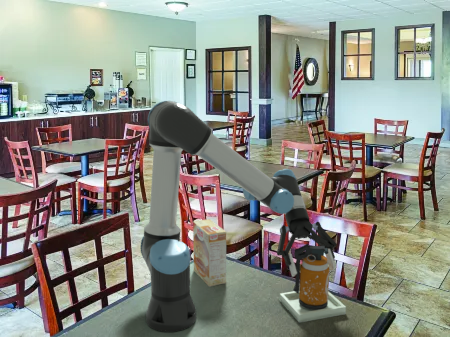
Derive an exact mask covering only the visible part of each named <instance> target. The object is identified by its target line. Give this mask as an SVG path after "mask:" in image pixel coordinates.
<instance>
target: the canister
mask: <svg viewBox="0 0 450 337" xmlns="http://www.w3.org/2000/svg"><path fill="white" fill-rule="evenodd" d="M293 253H294V256H295V267H296V271H297V274H296V275H295V284H294V286H293V289H292V292H293V291H295V292H296V293H298V294H299V303H300V305H301V306H303V307H304V308H307V309H311V310H320V309H324V308H326V307H327V305H328V291H329V288H330V287H329V286H330V285H329V284H330V271H331V270H330V267H329V264H328V260H327V258H326V255H325V254H328V249H327V248H325V246H320V245H310V244H308V243H306V244H304V245H302V246H300V247H298V248H296V249H294V252H293ZM301 260H302V262H301ZM301 263H302V264H301Z"/></svg>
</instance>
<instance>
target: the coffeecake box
mask: <svg viewBox="0 0 450 337" xmlns="http://www.w3.org/2000/svg"><path fill="white" fill-rule="evenodd" d="M192 234H193V235H192V238H193V239H192V240H193V271H194V272H195V273H196V275H198V277H199V278H201V279H202V281H203V282H204V283H205V284H206V285H207V287H214V286H218V285H223V284H227V231H226V230H224V228H222V227H221V226H219V225H218V224H217V223H215V222H214V221H213V220H211V219H209V218H207V219H202V220H194V221H192Z"/></svg>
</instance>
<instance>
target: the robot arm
mask: <svg viewBox="0 0 450 337" xmlns="http://www.w3.org/2000/svg"><path fill="white" fill-rule="evenodd" d="M147 125H148V128H149V136H148V137H149V141H148V142H149V143H148V144H149V146H150V147H151V148H152V149H153V155H152V156H153V157H152V174H151V191H150V205H149V206H150V207H149V222H148V223H147V224H146V225H145V226H144V228H143V235H142V238H141V240H140V253H141V256H142V257H141V258H143V260H144V261H145V263H146V267H147V269H148V271H149V274H150V291H151V292H150V294H151V296H150V299H149V303H148V306H147V309H146V312H145V318H146V320H145V322H146V324H147V326H148V327H150V328H151V329H153V330H155V331H157V332H164V333H174V332H179V331H184V330H185V329H189V327H191V326H192V325H194V323H195V322H196V320H197V309H196V306H195V303H194V301H193V297H192V295H191V269H190V268H191V254H190V249H189V247H188V246H187V244H186V243H184V242H183V241H181V228H180V226H178V225H177V219H178V218H177V216H178V204H179V203H178V202H179V190H180V188H179V187H180V176H181V175H180V174H181V161H182V152H183V151H185V152H186V153H188V154H189V155H191V156H198V157H199V158H200V159H202V160H203V161H205V162H206V163H208V164H209V165H210V166H211V167H213V168H215V170H216V171H219V172H220V173H221V174H223V175H224V176H225V177H226V178H228V179H229V180H231V181H232V182H234V183H235V184H237V185H238V186H239V187H241V188H242V194H243V196H244V198H245V200H247V201H253V202H255V201H259V202H260V203H261V204H264V205H265V206H266V207H268V208H270V209H271V210H272V211H273V212H274V213H277V214H278V215H279V214H281V215H282V214H283V215H284V218H285V221H286V224H287V226H286V225H285V224H282V225H281V227H280V228H279V234H280V237H279V242H278V245H277V251H276V255H277V256H281V257H282V258H283V259H284V261H285V262H284V263H285V265H286V267H288V268H289V271H290V274H291V277H296V274H297V271H296V263H295V261H294V258H293V254H292V253H290V251H291V249H292V247H293V244H294V242H295V241H296V239H298V240H300V239H307V238H308V239H310V240H312V241H313V242H314V243H316V244H317V245H318V246H325V248H327V249H328V254H325V253H324V256H325V257H326V258H327V260H328V267H329V269H330V271H331V272H333V271H335V270H336V269H337V265H336V262H335V258H336V256H335V254H334V251H333V250H334V248H335V247H336V246H337V243H336V242H335V240H334V239H333V238H332V237H331V236H330V235H329V233H327V232H326V231H325V229H324V228H323V227H322V225H321V223H320V221H316V222H314V223H311V221H310V216H309V214H308V211H307V209H306V208H307V207H306V204H305V201H304V198H303V196H302V191H301V190H300V187H299V184H298V180H297V177H296V175H295V173H294V171H293V170H292V169H290V168H289V169H288V168H283V169H279V170H277V171H276V172H275V173H274V174H273V176H271V177H270V176H268V174H266V173H264V172H263V171H262V170H260V169H259V168H257V166H255V165H254V164H253V163H251V162H250V161H248V159H246V158H245V157H243V156H242V155H241V154H239V153H238V152H237V151H236V150H235V149H233V148H232V147H231V146H229V145H228V144H226V143H225V142H224V141H222V139H220V138H219V137H218V136H216V135H215V134H213V129H212V128H211V127H210V126H209V125H207V124H206V123H205V121H203V120H202V119H201V118H199V116H197V114H196V113H194V111H193V110H191V109H190V108H189V107H188V106H186V105H184V104H181V103H179V102H176V101H172V100H163V101H161V102H160V101H159V102H158V103H156V104H155V105H153V106H152V107H151V108H150V111H149V113H148V116H147ZM288 232H289V233H290V234H291V236H290V238H289V241H288V243H287V245H285V243H286V237H287V233H288ZM284 247H285V249H284Z"/></svg>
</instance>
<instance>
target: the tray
mask: <svg viewBox="0 0 450 337" xmlns="http://www.w3.org/2000/svg"><path fill="white" fill-rule="evenodd" d="M279 302H280V303H281V304H282V305H283V306H284V307H285V308H286V310H287V311H288V310H289V311H288V312H289V313H290V315H292V316H293V318H295V320H296V321H297V322H298V323H299V324H300V323H304V322H311V321H315V320H320V319H327V318H332V317H337V316H342V315H346V313H347V306H346V305H344V304H343V302H341V300H339V299H338V298H337V297H336V296H334V294H332V293H331V292H330V290H328V305H327V307H326V308H324V309H320V310H311V309H307V308H304V307H303V306H301V305H300V303H299V294H298V293H296V292H295V291H293V290H292V291H287V292H281V293H279Z"/></svg>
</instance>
